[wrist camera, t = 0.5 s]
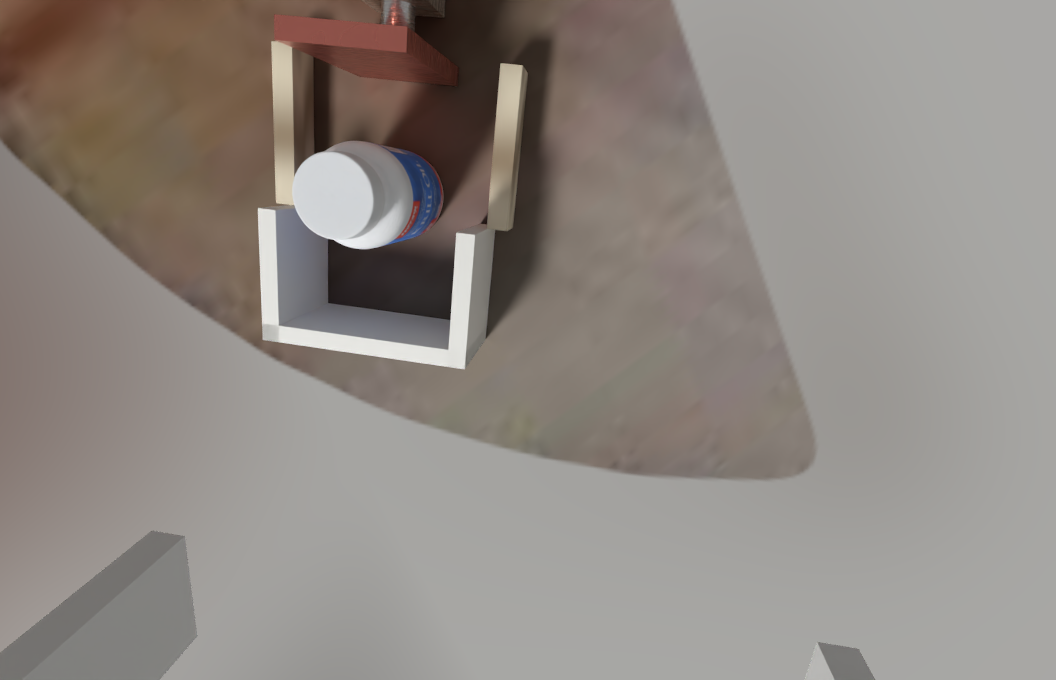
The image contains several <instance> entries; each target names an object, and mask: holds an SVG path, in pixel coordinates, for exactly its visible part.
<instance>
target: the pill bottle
mask: <svg viewBox="0 0 1056 680" xmlns="http://www.w3.org/2000/svg"><path fill="white" fill-rule="evenodd" d="M292 196H293V202H294V206H295V208H296V211H297V213H298V215H299V217H300V218H301V220H302V221H303V223H304V224H305V225H306V226H307V227H308V228H309V229H310V230H312V231H313V232H314V233H316V234H318V235H320V236H322V237H324V238H328V239H332V240H335V241H336V242H338V243H340V244H342V245H344V246H347V247H351V248H355V249H371V248H377V247H381V246H385V245H388V244H392V243H396V242H400V241H403V240H407V239H411V238H415V237H417V236H419V235H421V234H423V233H425V232H426V231H428V230H429V229H430V228H431V227H432V226H433V225H434V224H435V222H436V221H437V219H438V217H439V215H440V213H441V210H442V206H443V188H442V184H441V181H440V178H439V176H438V174H437V172H436V171H435V169H434V168H433V167H432V166H431V164H430V163H429V162H428V161H426V160H425V159H424V158H423V157H421V156H419V155H417V154H415V153H413V152H410V151H407V150H403V149H397V148H393V147H388V146H384V145H379V144H375V143H370V142H364V141H346V142H342V143H338V144H336V145H334V146H332V147H330V148H328V149H327V150H326V151H323V152H319V153H316V154H314V155H312V156H310V157H309V158H307V159H306V160H305V161H304V162H303V163H302V164H301V165H300V167H299V168H298V170H297V172H296V174H295V177H294V180H293V186H292Z"/></svg>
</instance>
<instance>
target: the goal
mask: <svg viewBox="0 0 1056 680" xmlns="http://www.w3.org/2000/svg"><path fill="white" fill-rule="evenodd" d="M258 225H259V251H260V277H261V304H262V330H263V340H267V341H274V342H281V343H288V344H295V345H302V346H309V347H315V348H322V349H329V350H336V351H343V352H350V353H357V354H363V355H370V356H377V357H384V358H391V359H398V360H405V361H411V362H418V363H425V364H432V365H439V366H446V367H453V368H459V369H465V368H466V367H467V365H468V364H469V362H470V361H471V360H472V358H473V357H474V355H475V354H476V352H477V351H478V350H479V348H480V347H481V345H482V344H483V342H484V341H485V340H486V329H487V318H488V307H489V295H490V284H491V273H492V262H493V250H494V239H495V230H493V229H487V224H478V225H475V226H473V227H470V228H467V229H465V230H462V231H459V232H457V233H456V246H455V261H454V276H453V290H452V305H451V320H447V319H440V318H433V317H425V316H418V315H411V314H404V313H396V312H389V311H382V310H375V309H368V308H360V307H353V306H346V305H339V304H331V303H328V238H324V237H322V236H320V235H318V234H316V233H314V232H313V231H312V230H310V229H309V228H308V227H307V226H306V225H305V224H304V223H303V221H302V220H301V218H300V217H299V215H298V213H297V211H296V208H295V206H294V205H287V206H276V207H264V208H258Z"/></svg>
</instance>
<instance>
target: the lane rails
mask: <svg viewBox="0 0 1056 680" xmlns="http://www.w3.org/2000/svg"><path fill="white" fill-rule="evenodd" d="M271 43H272V78H273V113H274V148H275V183H276V203H281V204H289V205H294V202H293V196H292V186H293V180H294V177H295V174H296V172H297V170H298V168H299V167H300V165H301V164H302V163H303V162H304V161H305V160H306V159H307V158H309V157H310V156H312V155H314V65H313V56H311V55H308V54H306V53H304V52H301V51H299V50H297V49H294V48H292V47H290V46H288V45H285V44H283V43H281V42H274V41H271ZM527 79H528V73H527V71H526V70H525V68H524V67H523V65H514V64H504V63H501V64H500V76H499V88H498V100H497V112H496V124H495V135H494V147H493V159H492V171H491V183H490V195H489V207H488V219H487V229H493V230H501V231H508V230H510V229H512V228H513V222H514V212H515V202H516V192H517V182H518V171H519V161H520V151H521V141H522V130H523V120H524V110H525V100H526V90H527Z"/></svg>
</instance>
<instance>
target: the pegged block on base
mask: <svg viewBox="0 0 1056 680" xmlns="http://www.w3.org/2000/svg"><path fill="white" fill-rule="evenodd" d="M362 1H363V2H365V3H366V4H367V5H368V6H370V7H371V8H372V9H374V10H375V11H376V12H381V24H373V23H362V22H351V21H340V20H329V19H318V18H307V17H297V16H286V15H275V14H274V32H275V40H276V41H278V42H281V43H283V44H285V45H288V46H290V47H292V48H294V49H297V50H299V51H301V52H304V53H306V54H308V55H311V56H313V57H315V58H318V59H320V60H322V61H325V62H327V63H329V64H332V65H334V66H336V67H339V68H341V69H343V70H345V71H348V72H350V73H352V74H355V75H357V76H359V77H368V78H378V79H388V80H398V81H408V82H418V83H428V84H438V85H448V86H458V71H459V68H458V67H457V66H456V65H455V64H453V63H452V62H451V61H450V60H448V59H447V58H446V57H445V56H443V55H442V54H441V53H440V52H438V51H437V50H436V49H435V48H433V47H432V46H431V45H430V44H428V43H427V42H426V41H425V40H423V39H422V38H421V37H420V36H418V35H417V34H416V33H415V16H426V17H437V18H445V3H446V0H362Z"/></svg>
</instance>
